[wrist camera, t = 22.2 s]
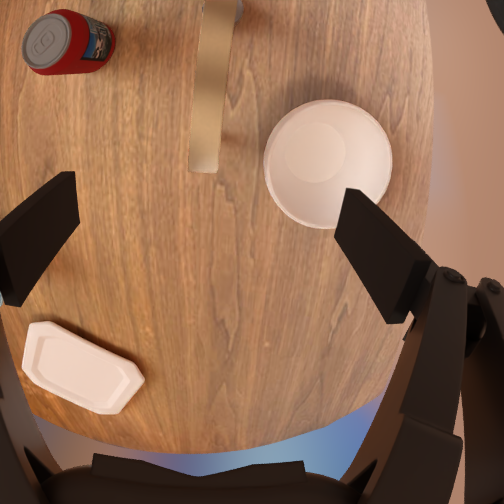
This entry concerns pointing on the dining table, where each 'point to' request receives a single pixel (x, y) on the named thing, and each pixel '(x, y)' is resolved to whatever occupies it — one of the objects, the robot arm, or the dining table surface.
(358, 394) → the dining table surface
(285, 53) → the dining table surface
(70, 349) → the plate
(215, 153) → the ladle
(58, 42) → the beverage can
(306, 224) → the bowl
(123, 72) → the dining table surface
